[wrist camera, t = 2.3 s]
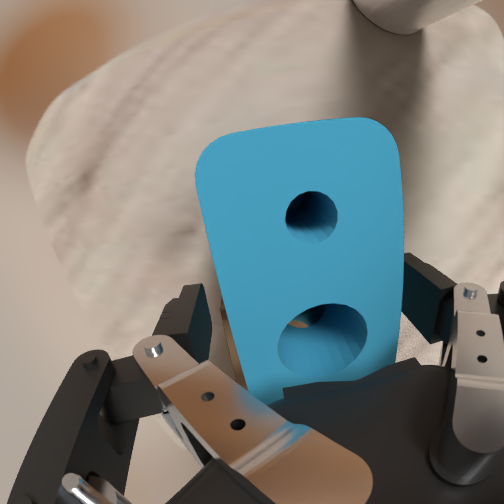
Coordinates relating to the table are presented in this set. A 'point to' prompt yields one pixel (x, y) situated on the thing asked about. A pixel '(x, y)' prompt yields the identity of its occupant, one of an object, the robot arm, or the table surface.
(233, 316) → the block
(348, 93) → the table surface
